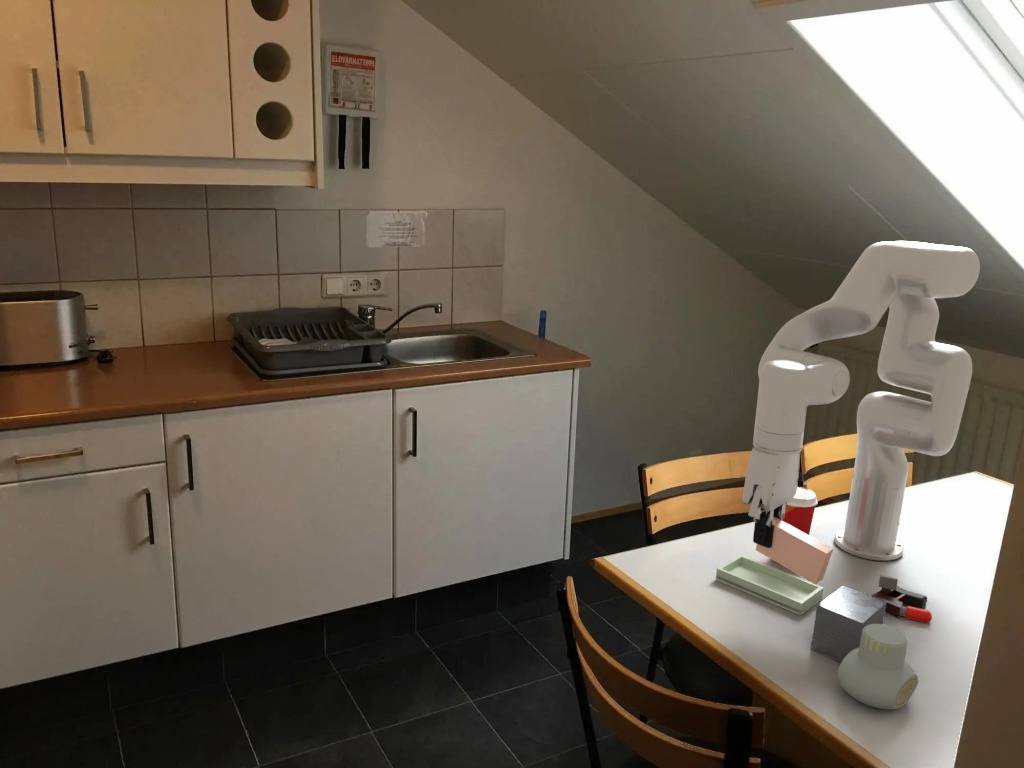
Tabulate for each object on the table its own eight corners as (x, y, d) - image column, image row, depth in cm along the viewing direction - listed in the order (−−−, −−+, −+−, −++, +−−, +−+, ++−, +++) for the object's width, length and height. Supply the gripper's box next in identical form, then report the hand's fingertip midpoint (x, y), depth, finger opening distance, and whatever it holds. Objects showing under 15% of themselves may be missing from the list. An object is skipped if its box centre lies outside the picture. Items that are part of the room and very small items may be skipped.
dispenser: (832, 627, 137) (839, 584, 135) (878, 646, 132) (886, 602, 130) (807, 648, 131) (814, 603, 129) (854, 669, 126) (862, 623, 124)
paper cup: (776, 547, 165) (784, 481, 161) (814, 560, 160) (824, 492, 157) (759, 560, 159) (768, 492, 155) (799, 574, 155) (809, 504, 151)
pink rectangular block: (762, 545, 141) (772, 515, 139) (822, 579, 134) (833, 548, 132) (755, 549, 140) (764, 519, 137) (815, 584, 133) (826, 553, 130)
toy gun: (854, 613, 143) (859, 587, 141) (888, 592, 150) (892, 567, 149) (911, 639, 136) (916, 612, 134) (943, 615, 143) (948, 589, 142)
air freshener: (865, 668, 127) (875, 609, 124) (920, 695, 121) (932, 634, 118) (827, 695, 120) (837, 633, 117) (883, 726, 114) (895, 661, 111)
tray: (739, 565, 157) (740, 554, 157) (822, 598, 146) (823, 587, 146) (715, 579, 151) (717, 568, 151) (800, 615, 141) (801, 603, 140)
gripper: (780, 421, 142) (769, 520, 147) (731, 443, 131) (720, 550, 136) (823, 432, 137) (810, 534, 142) (775, 456, 126) (763, 566, 131)
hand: (766, 541), depth 139 cm, fingers closed on pink rectangular block, 2 cm apart
